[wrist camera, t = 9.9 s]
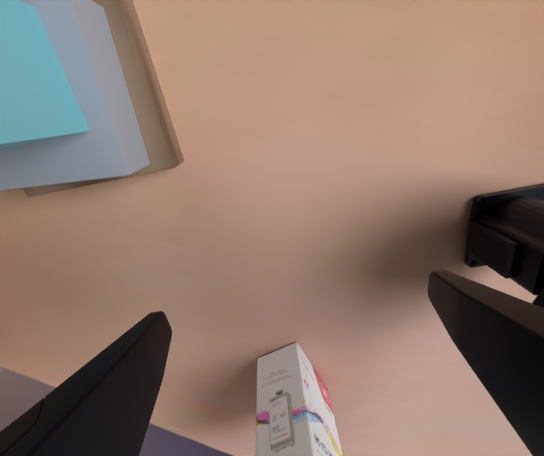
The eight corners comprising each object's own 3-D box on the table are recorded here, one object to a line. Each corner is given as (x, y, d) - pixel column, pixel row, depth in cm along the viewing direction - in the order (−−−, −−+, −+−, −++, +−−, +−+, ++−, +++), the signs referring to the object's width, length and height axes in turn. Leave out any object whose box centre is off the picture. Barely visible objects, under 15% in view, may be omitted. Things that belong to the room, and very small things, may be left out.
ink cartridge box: (330, 387, 30) (383, 611, 17) (290, 402, 31) (311, 625, 18) (297, 339, 27) (332, 568, 14) (255, 356, 28) (247, 588, 14)
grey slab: (103, 7, 14) (63, -17, 11) (150, 163, 17) (128, 175, 14) (-49, 27, 14) (-126, 7, 11) (27, 178, 17) (-17, 192, 14)
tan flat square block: (132, -10, 16) (104, -35, 13) (186, 159, 20) (173, 167, 17) (-25, 27, 16) (-83, 11, 14) (59, 184, 20) (28, 196, 18)
